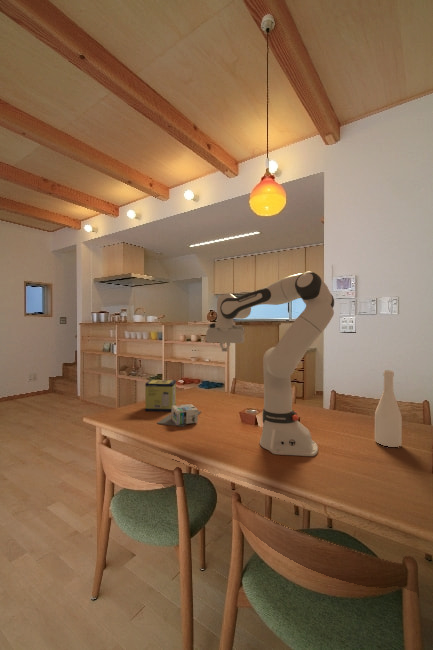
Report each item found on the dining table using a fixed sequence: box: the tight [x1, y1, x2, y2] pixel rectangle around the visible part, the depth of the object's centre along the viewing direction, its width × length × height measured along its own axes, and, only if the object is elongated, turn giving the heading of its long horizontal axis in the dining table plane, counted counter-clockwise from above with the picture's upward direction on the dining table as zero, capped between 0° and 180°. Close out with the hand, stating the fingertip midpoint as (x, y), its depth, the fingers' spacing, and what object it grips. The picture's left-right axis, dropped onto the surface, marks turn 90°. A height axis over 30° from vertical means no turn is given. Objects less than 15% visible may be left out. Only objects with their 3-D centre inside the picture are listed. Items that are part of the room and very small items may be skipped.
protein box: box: [144, 379, 177, 413], centre depth 168 cm, size 10×16×16 cm
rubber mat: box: [156, 410, 202, 428], centre depth 152 cm, size 14×24×1 cm, turn 163°
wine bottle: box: [374, 369, 403, 448], centre depth 121 cm, size 10×10×30 cm
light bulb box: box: [170, 403, 199, 425], centre depth 146 cm, size 11×7×11 cm
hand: (224, 351), depth 154 cm, fingers closed
